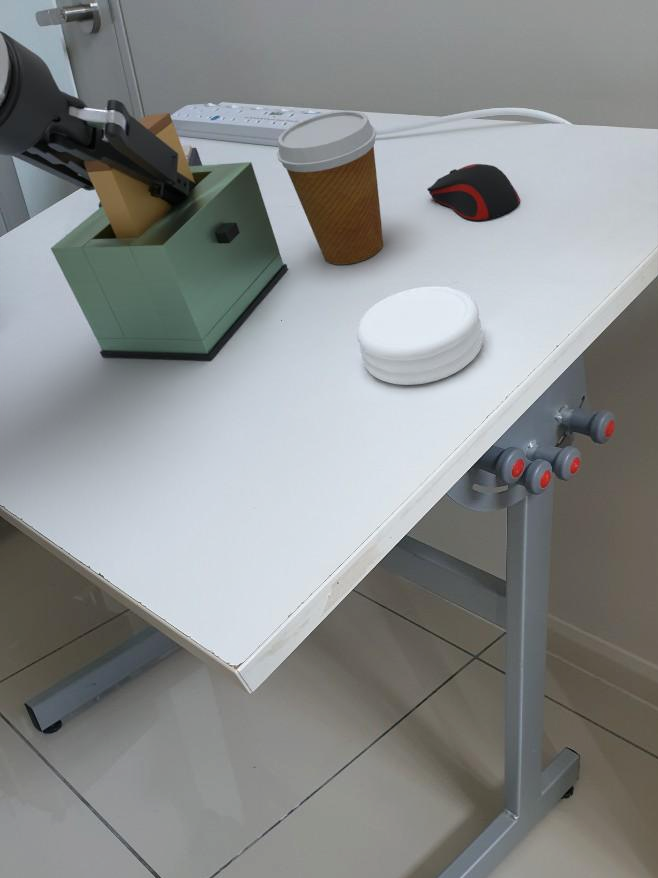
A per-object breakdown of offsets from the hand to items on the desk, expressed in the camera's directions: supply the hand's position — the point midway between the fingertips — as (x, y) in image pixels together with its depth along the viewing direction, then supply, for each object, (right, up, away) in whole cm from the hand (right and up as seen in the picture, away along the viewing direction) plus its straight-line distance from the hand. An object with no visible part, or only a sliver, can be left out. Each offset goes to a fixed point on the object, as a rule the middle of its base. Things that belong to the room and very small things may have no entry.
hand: (184, 203), depth 82 cm
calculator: (-10, +11, +28) cm, 32 cm away
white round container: (+22, -16, -10) cm, 29 cm away
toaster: (0, -9, +4) cm, 10 cm away
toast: (-1, -5, 0) cm, 5 cm away
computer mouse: (+28, +4, +10) cm, 30 cm away
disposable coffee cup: (+16, -2, +7) cm, 17 cm away
